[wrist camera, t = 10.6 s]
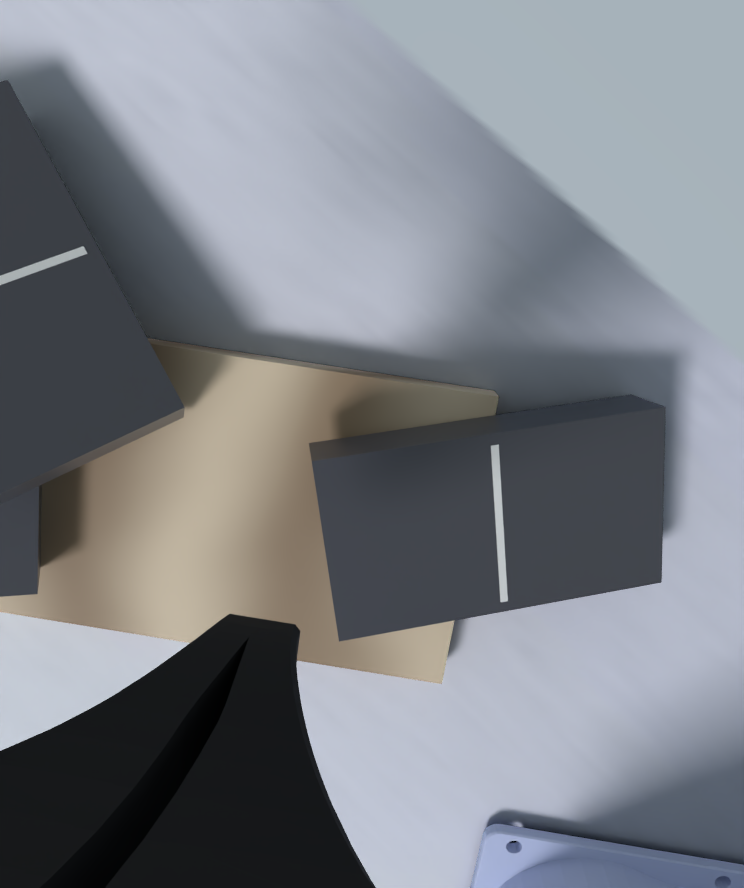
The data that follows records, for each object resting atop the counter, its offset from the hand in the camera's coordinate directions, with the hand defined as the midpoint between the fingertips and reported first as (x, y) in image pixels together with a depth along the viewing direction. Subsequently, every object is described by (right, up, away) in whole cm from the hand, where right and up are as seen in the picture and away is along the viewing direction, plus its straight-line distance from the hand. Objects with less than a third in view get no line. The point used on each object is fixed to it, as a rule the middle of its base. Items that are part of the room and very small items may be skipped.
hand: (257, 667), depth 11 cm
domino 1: (-5, +4, +4) cm, 7 cm away
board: (-5, +3, +8) cm, 10 cm away
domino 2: (+1, +2, +5) cm, 5 cm away
